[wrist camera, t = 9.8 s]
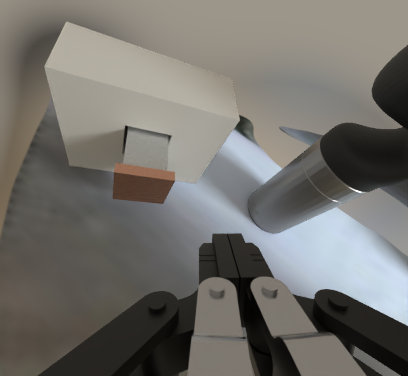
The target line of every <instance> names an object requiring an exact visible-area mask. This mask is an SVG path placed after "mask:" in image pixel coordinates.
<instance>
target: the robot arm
mask: <svg viewBox="0 0 408 376" xmlns="http://www.w3.org/2000/svg"><path fill="white" fill-rule="evenodd" d="M372 97H373V99H374V101H375V102H376V104H377V105H378V106H379V107H380V108H381V109H382V110H383V111H384V112H385V113H386V114H387V115H388V116H390V117H391V118H392V119H394V120H395V121H396V122H398V123H399V124H400V125H401V126H403V127H402V128H398V129H375V128H370V127H366V126H362V125H359V124H355V123H342V124H339V125H337V126H335V127H334V128H332V129H331V130H330V131H329V132H328V133H326V134H325V135H324V136H323V137H321V138H320V139H319V140H318V141H316V142H315V143H314V144H313V145H311V146H310V147H309V148H308V149H307V150H305V151H304V152H303V153H302V154H300V155H299V156H298V157H297V158H296V159H294V160H293V161H292V162H291V163H290V164H288V165H287V166H286V167H284V168H283V169H282V170H281V171H279V172H278V173H277V174H276V175H275V176H273V177H272V178H271V179H270V180H268V181H267V182H266V183H265V184H263V185H262V186H261V187H260V188H258V189H257V190H256V191H255V192H254V193H252V195H251V196H250V198H249V202H248V208H249V212H250V215H251V217H252V219H253V220H254V222H255V223H256V224H257V225H258V226H259V227H260V228H261V229H263V230H264V231H266V232H269V233H280V232H282V231H284V230H287V229H289V228H291V227H293V226H296V225H298V224H300V223H302V222H304V221H307V220H309V219H311V218H313V217H315V216H318V215H320V214H322V213H324V212H326V211H328V210H331V209H333V208H335V207H337V206H339V205H341V204H344V203H346V202H348V201H350V200H352V199H354V198H357V197H359V196H361V195H363V194H366V193H368V192H370V191H372V190H375V189H377V188H380V187H386V186H393V185H398V184H401V183H404V182H407V181H408V45H407V46H406V47H405V48H404V49H402V50H401V51H400V52H399V53H398V54H397V55H396V56H395V57H394V58H392V59H391V60H390V61H389V62H388V63H387V64H386V66H385V67H384V68H383V69H382V70H381V71H380V73H379V74H378V76H377V77H376V79H375V81H374V84H373V87H372ZM241 327H245V328H246V332H247V340H246V338H245V337H243V335H242V328H241ZM355 346H356V347H357V348H359V349H360V350H362V351H364V352H365V353H367V354H368V355H370V356H371V357H373V358H375V359H376V360H378V361H379V362H381V363H382V364H384V365H385V366H387V367H388V368H390V369H392V370H393V371H395V372H396V373H398V374H399V375H401V376H408V326H407V325H405V324H403V323H401V322H399V321H397V320H395V319H393V318H391V317H389V316H387V315H385V314H383V313H381V312H379V311H377V310H375V309H373V308H371V307H369V306H367V305H365V304H363V303H361V302H359V301H357V300H355V299H353V298H351V297H349V296H347V295H345V294H343V293H341V292H338V291H335V290H330V289H323V290H319V291H318V292H316V294H315V298H314V299H310V298H306V297H301V296H297V295H294V294H292V293H291V292H290V290H289V289H288V287H287V286H286V285H285V284H284V283H282V282H281V281H279V280H277V279H275V278H274V277H273V275H272V273H271V271H270V269H269V267H268V265H267V263H266V261H265V259H264V258H263V256H262V254H261V252H260V250H259V248H258V247H257V246H255V245H254V244H253V243H245V241H244V239H243V236H242V234H213V236H212V243H203V244H202V246H201V247H200V248H199V288H198V289H197V291H196V292H195V293H194V294H192V295H191V296H188V297H186V298H183V299H179V300H177V298H176V297H175V296H174V295H173V294H171V293H169V292H165V291H158V292H153V293H150V294H148V295H146V296H145V297H143V298H142V299H141V300H139V301H138V302H136V303H135V304H134V305H132V306H131V307H130V308H128V309H127V310H126V311H124V312H123V313H122V314H120V315H119V316H118V317H116V318H115V319H114V320H112V321H111V322H110V323H108V324H107V325H105V326H104V327H103V328H101V329H100V330H99V331H97V332H96V333H95V334H93V335H92V336H91V337H89V338H88V339H87V340H85V341H84V342H83V343H81V344H80V345H78V346H77V347H76V348H74V349H73V350H72V351H70V352H69V353H68V354H66V355H65V356H64V357H62V358H61V359H60V360H58V361H57V362H56V363H54V364H53V365H52V366H50V367H49V368H47V369H46V370H45V371H43V372H42V373H41V374H39V375H38V376H179V373H180V372H183V371H185V370H187V369H188V376H253V375H252V368H251V364H252V367H253V370H254V373H255V376H382V375H381V374H379V373H378V372H376V371H375V370H373V369H372V368H370V367H369V366H367V365H366V364H364V363H363V362H361V361H360V360H358V359H357V358H355V357H354V356H353V353H354V349H355ZM250 360H251V362H250Z"/></svg>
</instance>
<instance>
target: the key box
mask: <svg viewBox="0 0 408 376" xmlns="http://www.w3.org/2000/svg"><path fill="white" fill-rule="evenodd" d="M44 67H45V71H46V75H47V79H48V83H49V87H50V91H51V95H52V99H53V103H54V107H55V111H56V114H57V118H58V122H59V126H60V130H61V134H62V138H63V142H64V146H65V150H66V154H67V158H68V162H69V165H70V166H75V167H83V168H90V169H97V170H104V171H111V172H114V170H115V164H116V163H121V164H123V160H124V153H125V146H126V139H127V132H128V126H131V127H135V128H140V129H144V130H149V131H154V132H158V133H163V134H168V135H169V137H168V171H172V172H175V181H181V182H189V183H196V182H197V181H198V179H199V178H200V177H201V175H202V174H203V172H204V171H205V169H206V168H207V166H208V165H209V164H210V162H211V161H212V159H213V158H214V156H215V155H216V154H217V152H218V151H219V149H220V148H221V146H222V145H223V143H224V142H225V141H226V139H227V138H228V136H229V135H230V133H231V132H232V130H233V129H234V128H235V126H236V125H237V123H238V122H239V120H240V119H239V114H238V109H237V104H236V99H235V94H234V89H233V83H232V79H231V78H228V77H225V76H222V75H219V74H216V73H214V72H211V71H208V70H205V69H202V68H199V67H196V66H193V65H190V64H188V63H185V62H182V61H179V60H176V59H173V58H170V57H167V56H164V55H162V54H159V53H156V52H153V51H150V50H147V49H144V48H141V47H139V46H136V45H132V44H130V43H127V42H124V41H121V40H118V39H115V38H113V37H110V36H107V35H104V34H101V33H98V32H95V31H92V30H90V29H87V28H84V27H81V26H78V25H75V24H72V23H69V22H66V24H65V26H64V28H63V30H62V32H61V34H60V36H59V38H58V40H57V42H56V44H55V46H54V48H53V50H52V52H51V54H50V56H49V58H48V61H47V62H46V64H45V66H44Z"/></svg>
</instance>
